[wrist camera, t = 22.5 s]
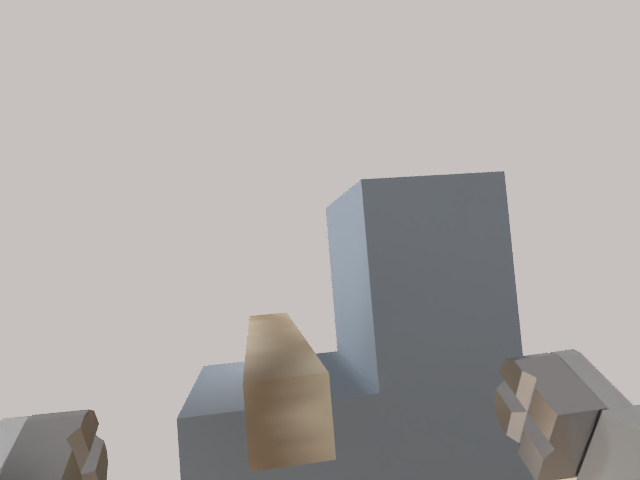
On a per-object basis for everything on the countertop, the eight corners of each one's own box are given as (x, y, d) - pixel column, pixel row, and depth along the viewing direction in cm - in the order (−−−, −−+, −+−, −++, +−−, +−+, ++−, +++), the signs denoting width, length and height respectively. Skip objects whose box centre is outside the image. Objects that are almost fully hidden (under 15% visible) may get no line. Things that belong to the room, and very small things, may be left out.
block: (249, 472, 16) (242, 382, 16) (252, 353, 38) (249, 316, 38) (336, 459, 16) (329, 372, 16) (289, 349, 38) (286, 312, 38)
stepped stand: (198, 746, 22) (161, 190, 23) (218, 577, 34) (193, 216, 35) (553, 667, 24) (504, 171, 25) (455, 535, 36) (424, 201, 37)
